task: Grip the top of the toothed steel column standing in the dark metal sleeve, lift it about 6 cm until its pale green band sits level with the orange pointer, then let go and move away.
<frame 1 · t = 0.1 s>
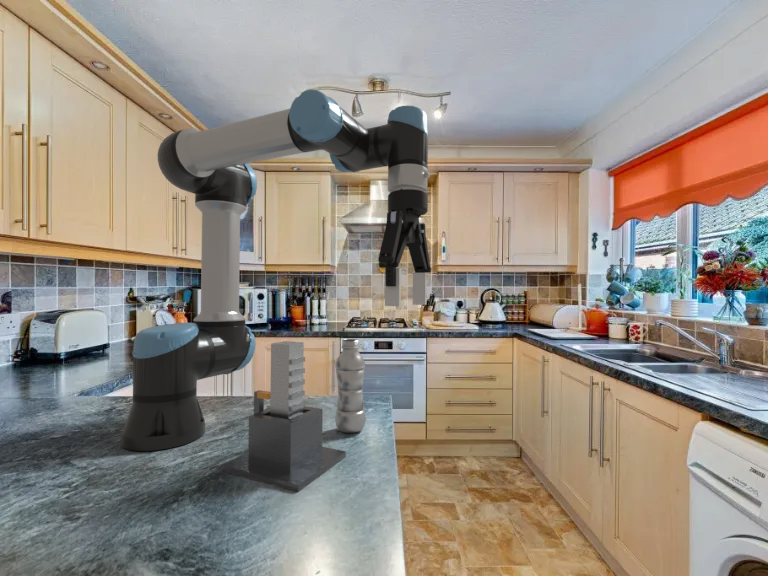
hand: (407, 305, 72), 28 cm above the countertop, tool pointing down, fingers open, 13 cm apart
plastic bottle: (350, 432, 84), on the countertop
stand: (286, 463, 67), on the countertop
column: (287, 399, 68), point 11 cm above the countertop, slide at 0.0 cm
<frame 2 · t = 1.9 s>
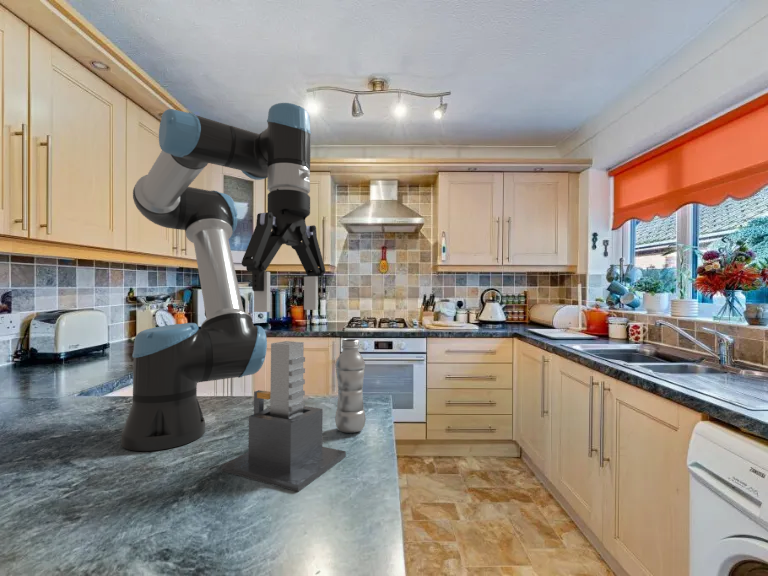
hand: (288, 310, 68), 27 cm above the countertop, tool pointing down, fingers open, 13 cm apart
nothing on the countertop moved.
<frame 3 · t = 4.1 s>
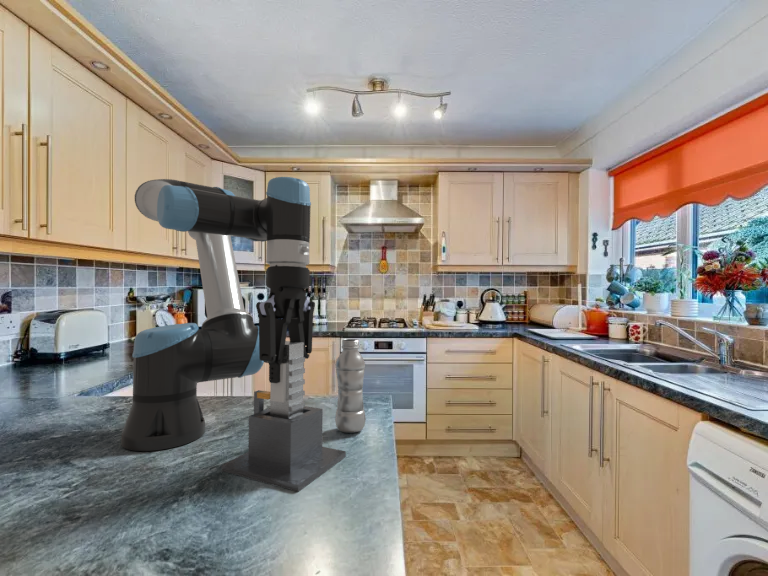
hand: (287, 397, 68), 12 cm above the countertop, tool pointing down, fingers closed on column, 4 cm apart
column: (287, 399, 68), point 11 cm above the countertop, slide at 0.0 cm, touching gripper
everything else where it was.
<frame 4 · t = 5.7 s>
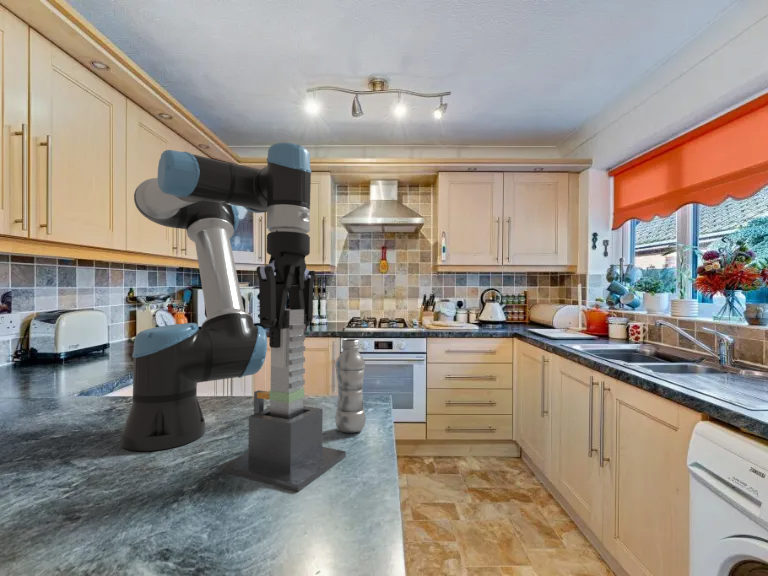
hand: (287, 363, 68), 18 cm above the countertop, tool pointing down, fingers closed on column, 4 cm apart
column: (288, 365, 68), point 17 cm above the countertop, slide at 5.9 cm, touching gripper
everything else where it was.
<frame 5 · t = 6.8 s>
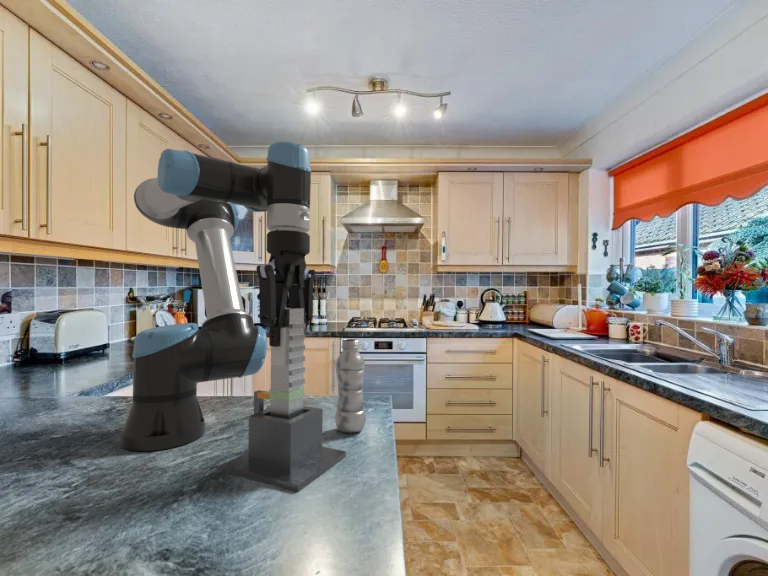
hand: (287, 362, 68), 18 cm above the countertop, tool pointing down, fingers closed on column, 4 cm apart
column: (288, 364, 68), point 17 cm above the countertop, slide at 6.1 cm, touching gripper
everything else where it was.
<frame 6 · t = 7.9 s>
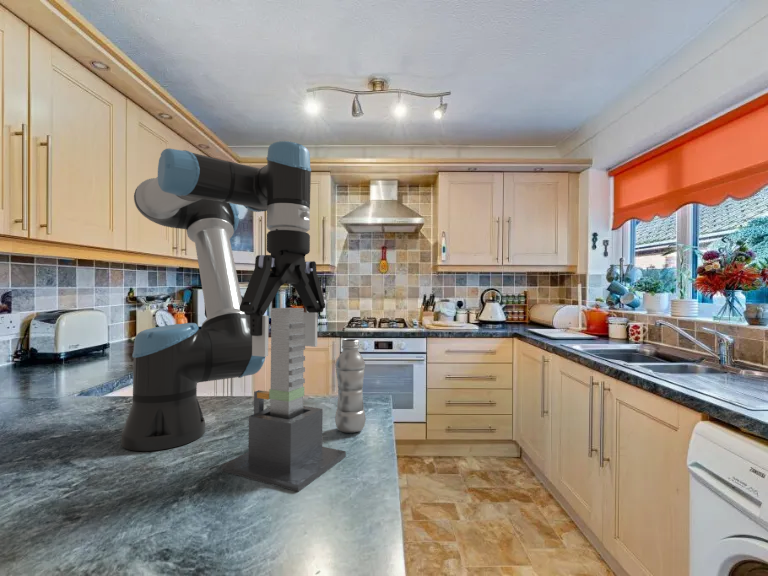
hand: (287, 350, 68), 20 cm above the countertop, tool pointing down, fingers open, 13 cm apart
column: (288, 364, 68), point 17 cm above the countertop, slide at 6.2 cm
everything else where it was.
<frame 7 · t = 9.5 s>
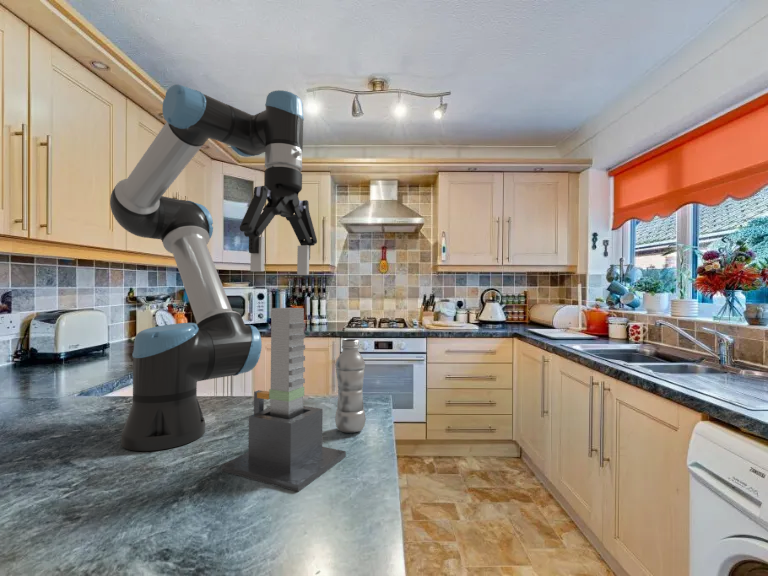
hand: (281, 273, 79), 34 cm above the countertop, tool pointing down, fingers open, 13 cm apart
nothing on the countertop moved.
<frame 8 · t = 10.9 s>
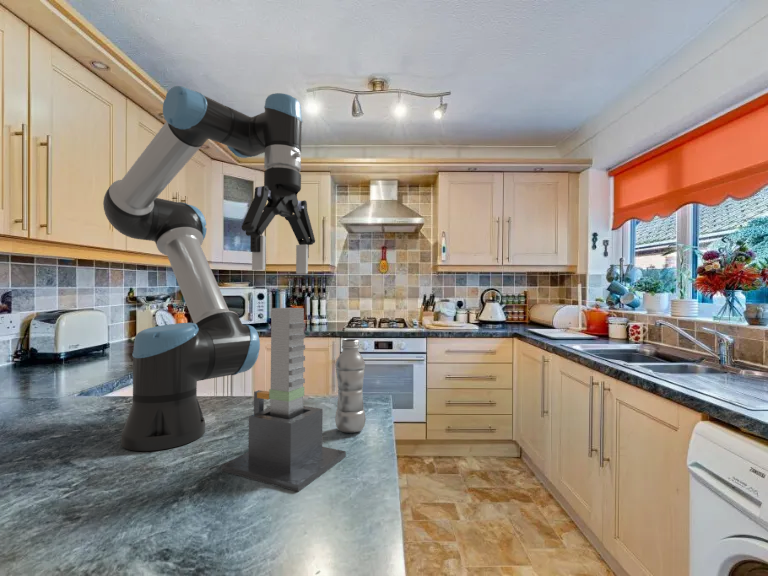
hand: (281, 272, 80), 35 cm above the countertop, tool pointing down, fingers open, 13 cm apart
nothing on the countertop moved.
at the end: column slide at 6.2 cm; the gripper is holding nothing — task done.
